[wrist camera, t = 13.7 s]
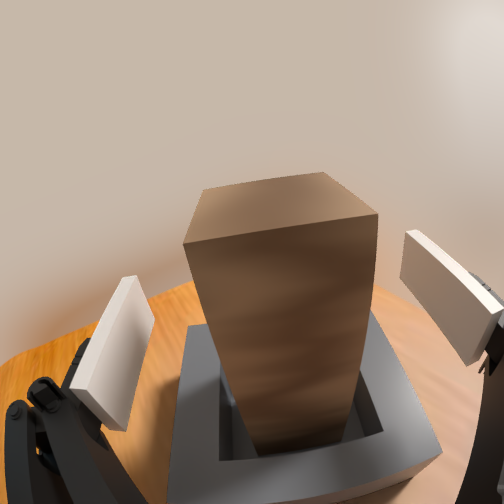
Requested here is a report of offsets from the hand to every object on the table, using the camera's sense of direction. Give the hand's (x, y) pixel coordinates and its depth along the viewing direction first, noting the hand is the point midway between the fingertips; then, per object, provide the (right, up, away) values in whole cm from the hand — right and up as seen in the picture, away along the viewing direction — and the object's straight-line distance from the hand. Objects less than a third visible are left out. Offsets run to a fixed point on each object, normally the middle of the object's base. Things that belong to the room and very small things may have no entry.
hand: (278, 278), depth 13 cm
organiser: (+2, -10, +3) cm, 11 cm away
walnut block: (+1, -9, +3) cm, 10 cm away
